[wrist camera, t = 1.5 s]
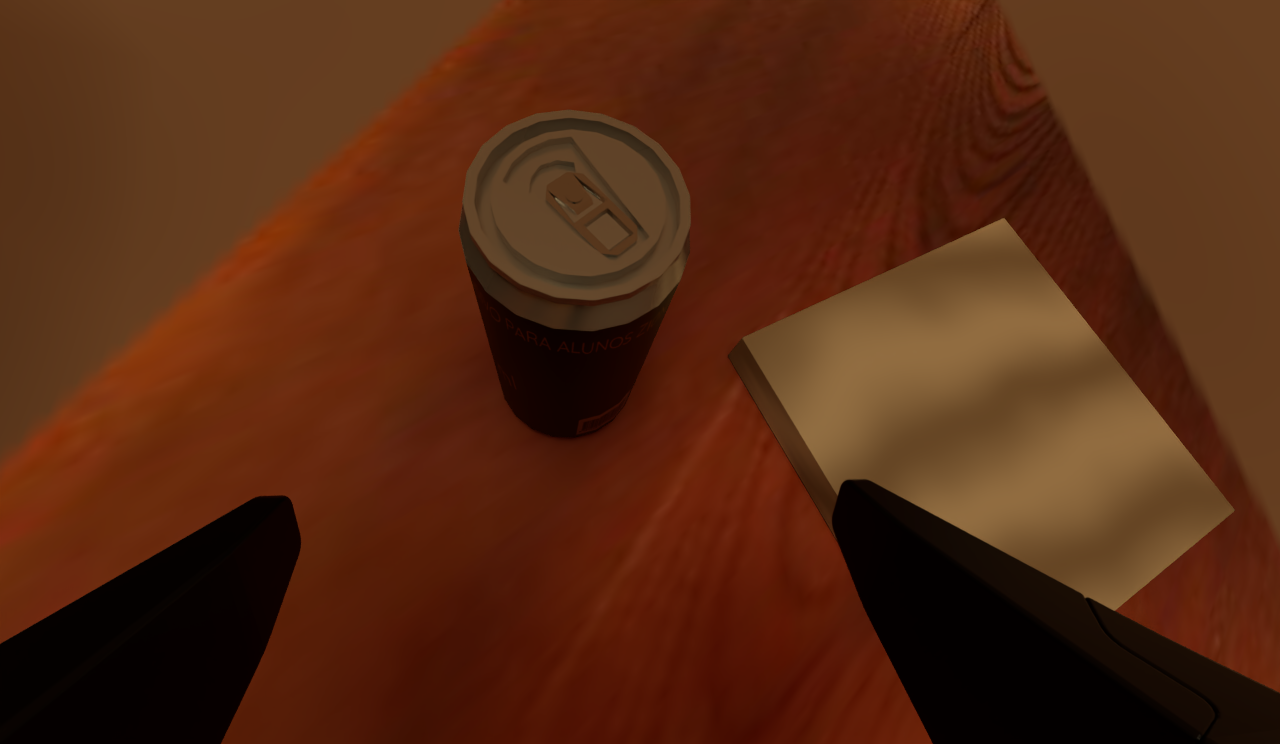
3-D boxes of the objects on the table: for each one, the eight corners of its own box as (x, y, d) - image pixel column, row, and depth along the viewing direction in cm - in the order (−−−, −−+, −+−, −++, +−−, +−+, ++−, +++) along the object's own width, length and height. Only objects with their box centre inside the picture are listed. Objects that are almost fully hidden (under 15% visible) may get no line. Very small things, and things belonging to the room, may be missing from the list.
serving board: (1184, 514, 25) (1235, 510, 23) (937, 711, 21) (976, 726, 19) (974, 240, 29) (1004, 218, 27) (727, 355, 24) (742, 338, 22)
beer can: (655, 384, 23) (749, 216, 12) (561, 469, 22) (571, 363, 10) (571, 298, 24) (588, 67, 13) (474, 373, 22) (396, 179, 11)
